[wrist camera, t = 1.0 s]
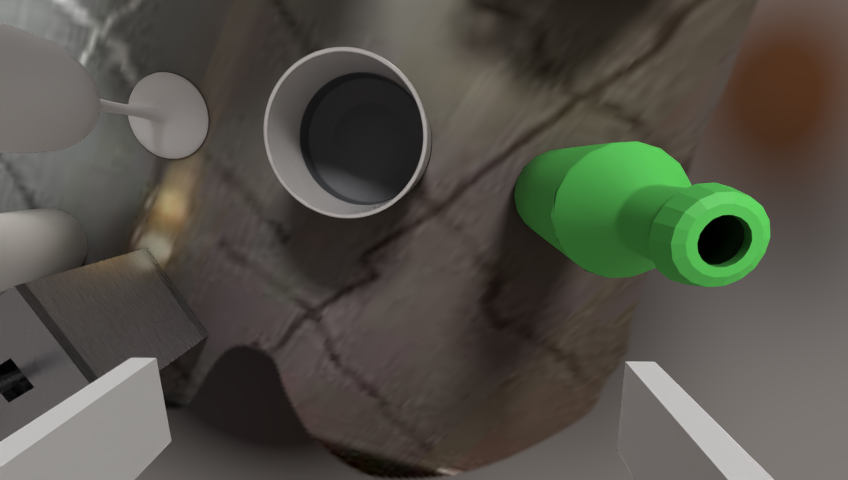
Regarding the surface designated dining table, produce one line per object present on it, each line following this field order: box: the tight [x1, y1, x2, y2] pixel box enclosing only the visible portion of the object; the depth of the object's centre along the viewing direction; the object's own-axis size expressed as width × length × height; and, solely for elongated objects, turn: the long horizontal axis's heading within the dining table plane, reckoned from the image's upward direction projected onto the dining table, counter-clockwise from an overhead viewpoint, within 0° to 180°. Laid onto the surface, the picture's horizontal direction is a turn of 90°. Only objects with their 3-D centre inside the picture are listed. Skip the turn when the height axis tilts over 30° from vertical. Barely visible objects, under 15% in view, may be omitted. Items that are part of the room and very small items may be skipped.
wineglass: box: [0, 22, 209, 159], centre depth 31 cm, size 9×9×21 cm
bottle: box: [514, 142, 770, 287], centre depth 28 cm, size 9×9×25 cm
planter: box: [263, 47, 432, 218], centre depth 35 cm, size 13×13×10 cm
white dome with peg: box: [0, 208, 88, 292], centre depth 40 cm, size 8×11×9 cm
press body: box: [0, 248, 208, 442], centre depth 39 cm, size 12×12×14 cm
